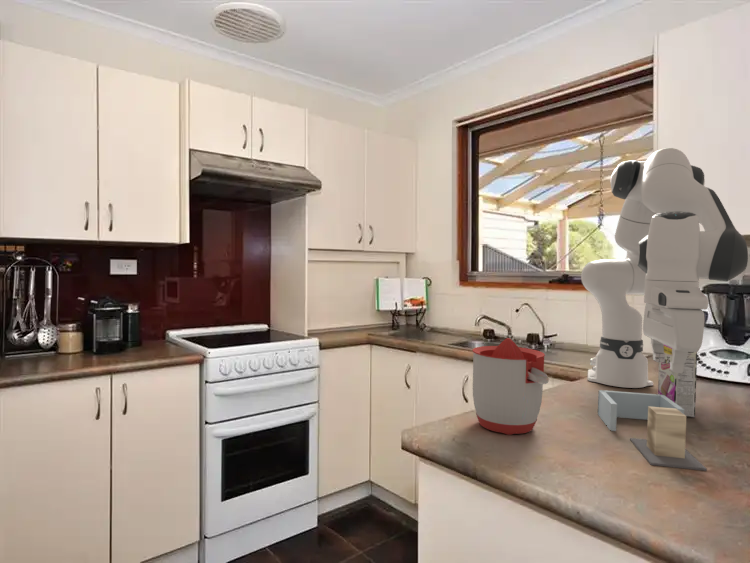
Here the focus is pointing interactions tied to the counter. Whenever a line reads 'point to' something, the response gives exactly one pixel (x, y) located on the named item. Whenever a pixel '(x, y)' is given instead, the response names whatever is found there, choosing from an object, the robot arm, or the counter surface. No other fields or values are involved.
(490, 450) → the counter surface
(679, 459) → the charcoal mat
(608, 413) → the open-side box
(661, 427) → the birch block
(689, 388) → the candy bar box
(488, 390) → the citrus juicer
